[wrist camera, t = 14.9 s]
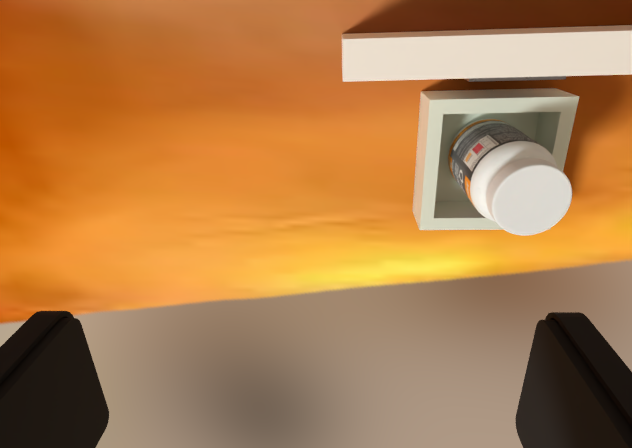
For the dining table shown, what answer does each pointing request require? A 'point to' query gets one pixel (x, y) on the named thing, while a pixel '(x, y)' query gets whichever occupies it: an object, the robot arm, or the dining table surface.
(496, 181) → the pill bottle
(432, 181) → the pale green square tray
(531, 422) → the robot arm
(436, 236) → the dining table surface
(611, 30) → the board
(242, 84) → the dining table surface
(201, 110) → the dining table surface
